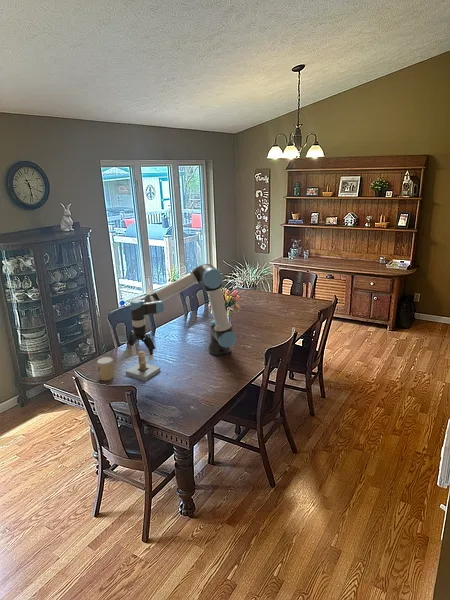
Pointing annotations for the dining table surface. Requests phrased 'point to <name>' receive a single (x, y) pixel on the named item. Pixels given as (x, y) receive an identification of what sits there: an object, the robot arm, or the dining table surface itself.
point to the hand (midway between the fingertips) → (142, 357)
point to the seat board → (144, 375)
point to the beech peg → (142, 361)
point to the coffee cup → (105, 368)
